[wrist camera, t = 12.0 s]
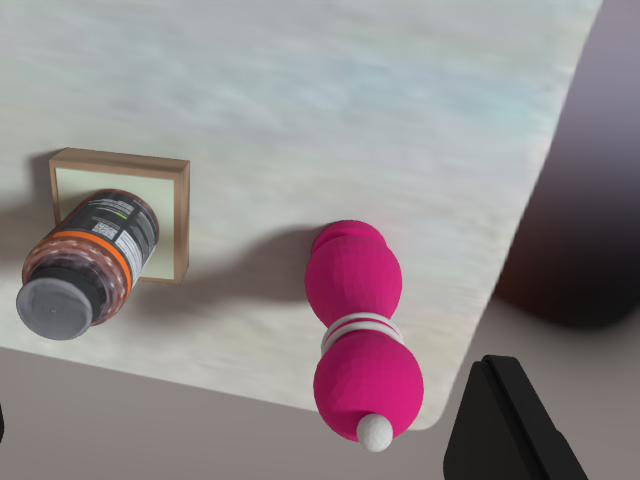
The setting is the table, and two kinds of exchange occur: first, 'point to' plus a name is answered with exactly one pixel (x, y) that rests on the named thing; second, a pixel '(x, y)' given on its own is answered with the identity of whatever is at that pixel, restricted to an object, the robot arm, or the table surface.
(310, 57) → the table surface
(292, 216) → the table surface
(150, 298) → the table surface
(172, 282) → the base
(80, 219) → the supplement bottle
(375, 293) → the pepper mill
